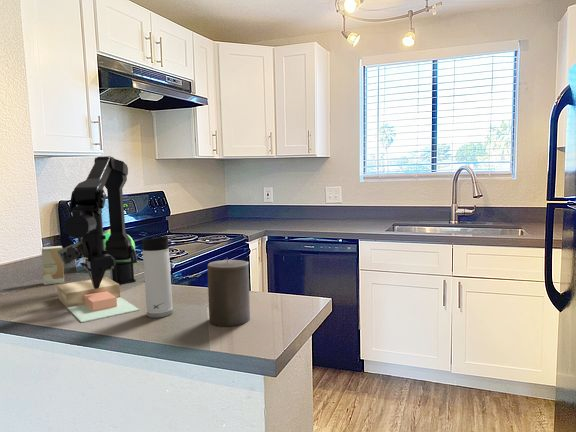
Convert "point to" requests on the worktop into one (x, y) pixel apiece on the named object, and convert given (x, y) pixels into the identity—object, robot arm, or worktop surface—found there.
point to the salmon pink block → (100, 301)
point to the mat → (101, 311)
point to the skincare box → (52, 265)
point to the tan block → (84, 291)
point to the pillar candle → (228, 292)
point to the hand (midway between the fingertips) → (96, 288)
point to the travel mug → (157, 277)
